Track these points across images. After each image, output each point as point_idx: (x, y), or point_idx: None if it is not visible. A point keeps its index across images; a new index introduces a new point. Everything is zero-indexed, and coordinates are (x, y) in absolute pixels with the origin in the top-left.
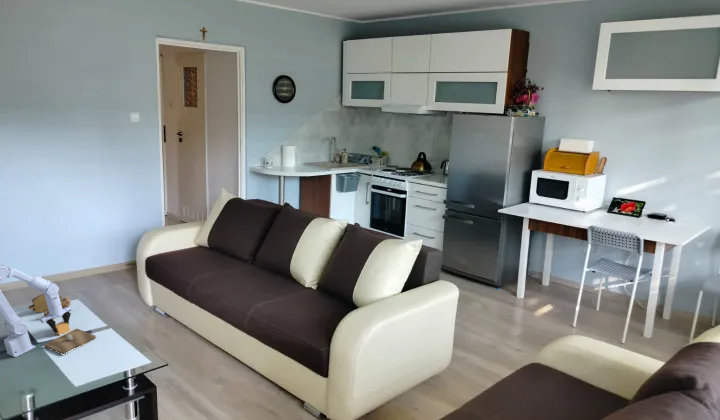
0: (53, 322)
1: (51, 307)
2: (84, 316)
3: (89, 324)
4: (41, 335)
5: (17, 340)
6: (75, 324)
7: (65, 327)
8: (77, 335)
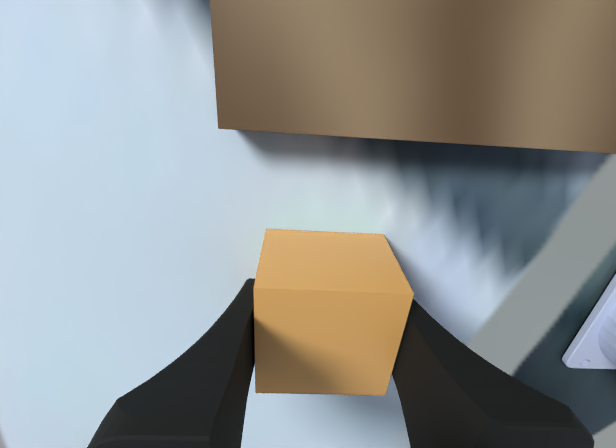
0: (530, 414)
1: None
2: (35, 343)
3: (44, 130)
4: None
5: None
6: (163, 289)
7: (304, 265)
8: None
